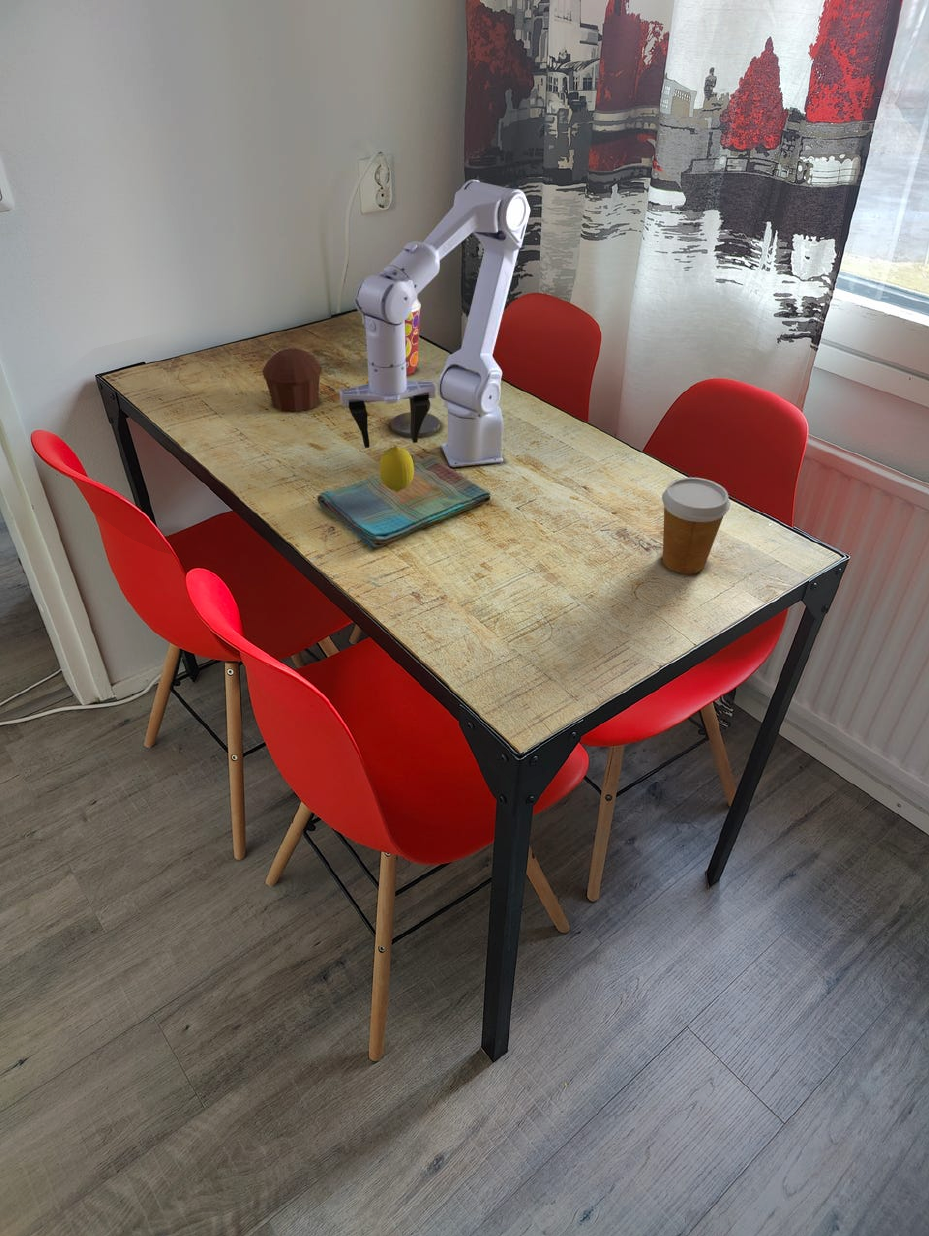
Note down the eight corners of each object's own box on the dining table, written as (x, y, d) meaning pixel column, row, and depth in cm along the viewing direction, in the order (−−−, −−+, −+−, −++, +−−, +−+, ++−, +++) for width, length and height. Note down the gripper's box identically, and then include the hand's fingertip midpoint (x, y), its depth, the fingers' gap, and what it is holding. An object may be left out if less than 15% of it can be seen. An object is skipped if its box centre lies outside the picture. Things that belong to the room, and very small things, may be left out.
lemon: (414, 500, 143) (413, 455, 138) (379, 500, 143) (377, 455, 138) (414, 482, 147) (413, 438, 142) (381, 482, 147) (378, 438, 142)
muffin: (314, 417, 171) (309, 367, 164) (258, 412, 172) (251, 362, 166) (331, 391, 180) (327, 342, 174) (278, 387, 181) (272, 338, 175)
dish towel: (314, 505, 146) (313, 491, 145) (430, 462, 158) (430, 449, 156) (374, 552, 136) (373, 538, 134) (492, 503, 147) (493, 489, 146)
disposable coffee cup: (671, 537, 140) (683, 469, 132) (727, 560, 135) (743, 490, 128) (639, 564, 134) (650, 494, 127) (696, 588, 129) (712, 517, 122)
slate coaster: (434, 413, 173) (434, 409, 172) (444, 434, 166) (444, 431, 165) (387, 417, 171) (387, 414, 171) (395, 439, 164) (395, 435, 164)
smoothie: (377, 364, 191) (373, 267, 178) (415, 360, 193) (413, 264, 180) (387, 380, 184) (382, 281, 172) (426, 375, 186) (425, 277, 174)
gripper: (341, 375, 130) (348, 459, 138) (439, 366, 132) (440, 449, 141) (335, 356, 135) (342, 438, 143) (430, 348, 138) (431, 429, 146)
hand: (390, 442), depth 142 cm, fingers open, 7 cm apart
